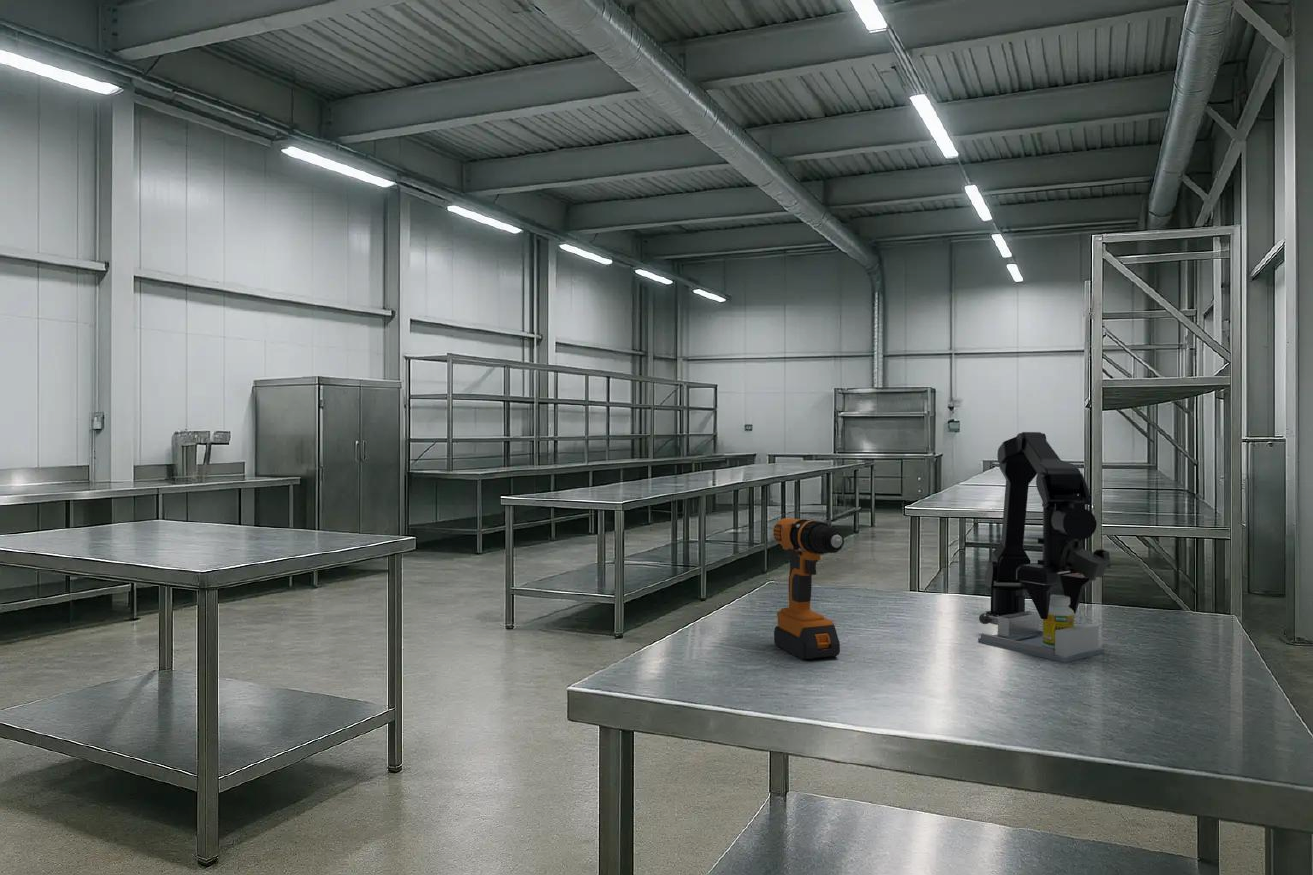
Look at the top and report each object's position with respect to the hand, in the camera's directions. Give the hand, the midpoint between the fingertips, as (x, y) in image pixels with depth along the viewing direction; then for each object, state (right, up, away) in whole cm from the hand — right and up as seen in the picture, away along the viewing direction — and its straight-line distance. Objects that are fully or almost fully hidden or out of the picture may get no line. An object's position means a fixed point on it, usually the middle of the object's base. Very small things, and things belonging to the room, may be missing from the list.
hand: (1058, 616), depth 166 cm
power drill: (-47, -7, -3) cm, 48 cm away
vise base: (-2, -7, +3) cm, 8 cm away
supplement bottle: (0, -6, 0) cm, 6 cm away
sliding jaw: (-7, -5, +10) cm, 13 cm away
